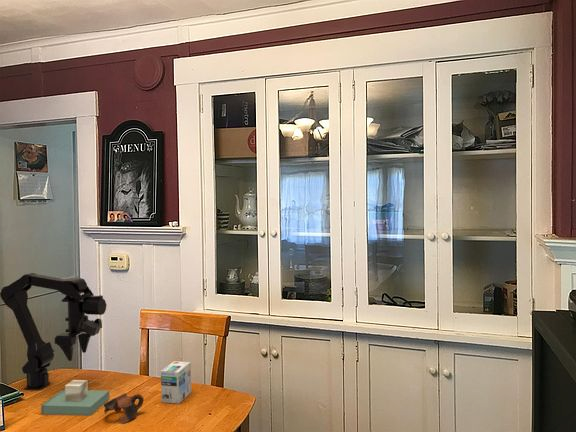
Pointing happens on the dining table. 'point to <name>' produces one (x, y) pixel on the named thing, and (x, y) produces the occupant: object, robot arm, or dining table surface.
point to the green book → (75, 404)
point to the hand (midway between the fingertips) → (77, 356)
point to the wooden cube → (76, 390)
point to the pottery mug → (125, 406)
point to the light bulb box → (176, 382)
